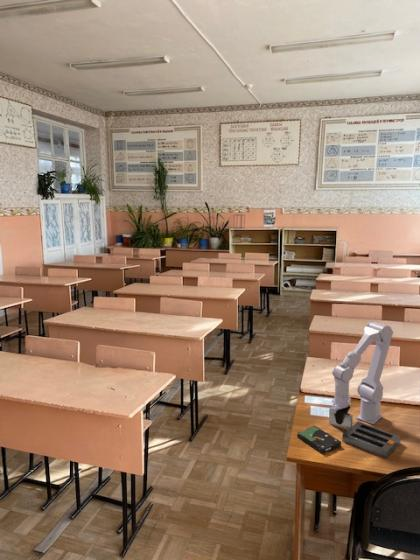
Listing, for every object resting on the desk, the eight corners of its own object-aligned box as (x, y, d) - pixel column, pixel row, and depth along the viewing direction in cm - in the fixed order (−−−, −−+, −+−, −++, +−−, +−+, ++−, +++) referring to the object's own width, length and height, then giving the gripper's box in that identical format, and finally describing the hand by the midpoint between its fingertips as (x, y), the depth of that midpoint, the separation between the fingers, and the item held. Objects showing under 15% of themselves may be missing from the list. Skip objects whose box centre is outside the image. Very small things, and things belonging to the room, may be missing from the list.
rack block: (357, 427, 184) (357, 420, 184) (400, 443, 172) (400, 436, 171) (342, 441, 174) (342, 433, 174) (386, 458, 162) (387, 450, 161)
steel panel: (330, 422, 190) (331, 407, 188) (352, 430, 183) (352, 414, 181) (328, 423, 188) (329, 408, 187) (350, 431, 182) (351, 416, 180)
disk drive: (341, 447, 171) (314, 430, 183) (341, 441, 170) (314, 424, 183) (322, 456, 165) (296, 438, 178) (323, 449, 165) (296, 431, 177)
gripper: (341, 385, 191) (339, 413, 193) (324, 396, 180) (323, 425, 183) (356, 389, 186) (354, 418, 188) (340, 401, 176) (339, 431, 178)
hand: (340, 422), depth 185 cm, fingers closed
